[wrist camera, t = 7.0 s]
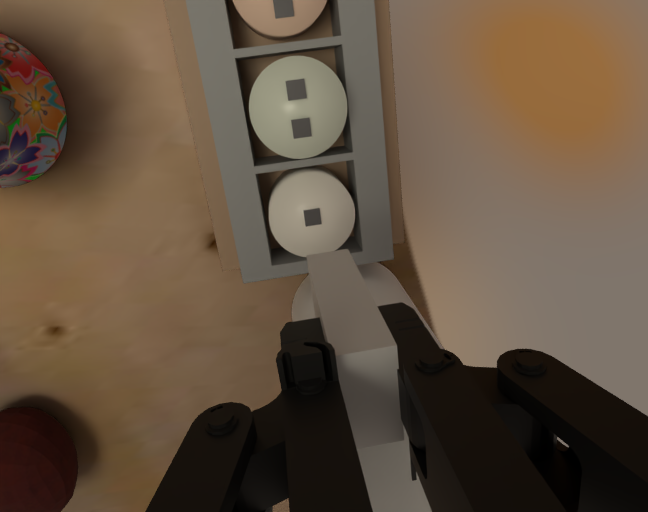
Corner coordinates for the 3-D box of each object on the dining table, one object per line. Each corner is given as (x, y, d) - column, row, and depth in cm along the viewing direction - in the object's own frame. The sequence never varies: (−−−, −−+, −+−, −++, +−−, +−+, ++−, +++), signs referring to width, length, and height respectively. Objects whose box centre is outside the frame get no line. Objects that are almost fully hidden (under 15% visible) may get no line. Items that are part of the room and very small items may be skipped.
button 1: (275, 245, 30) (276, 264, 26) (262, 170, 28) (261, 181, 25) (349, 233, 30) (359, 251, 27) (341, 158, 28) (350, 168, 25)
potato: (-7, 484, 35) (-58, 560, 30) (-33, 392, 32) (-96, 457, 27) (96, 477, 36) (65, 549, 30) (79, 386, 33) (41, 448, 28)
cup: (269, 329, 33) (272, 528, 18) (333, 235, 31) (395, 372, 17) (362, 376, 36) (431, 588, 21) (427, 292, 34) (554, 457, 19)
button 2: (259, 155, 27) (258, 165, 23) (243, 64, 25) (240, 62, 22) (342, 144, 27) (352, 152, 24) (332, 53, 25) (342, 49, 22)
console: (224, 264, 31) (218, 290, 27) (151, -71, 24) (129, -100, 21) (399, 236, 32) (418, 258, 28) (376, -95, 25) (397, -128, 21)
